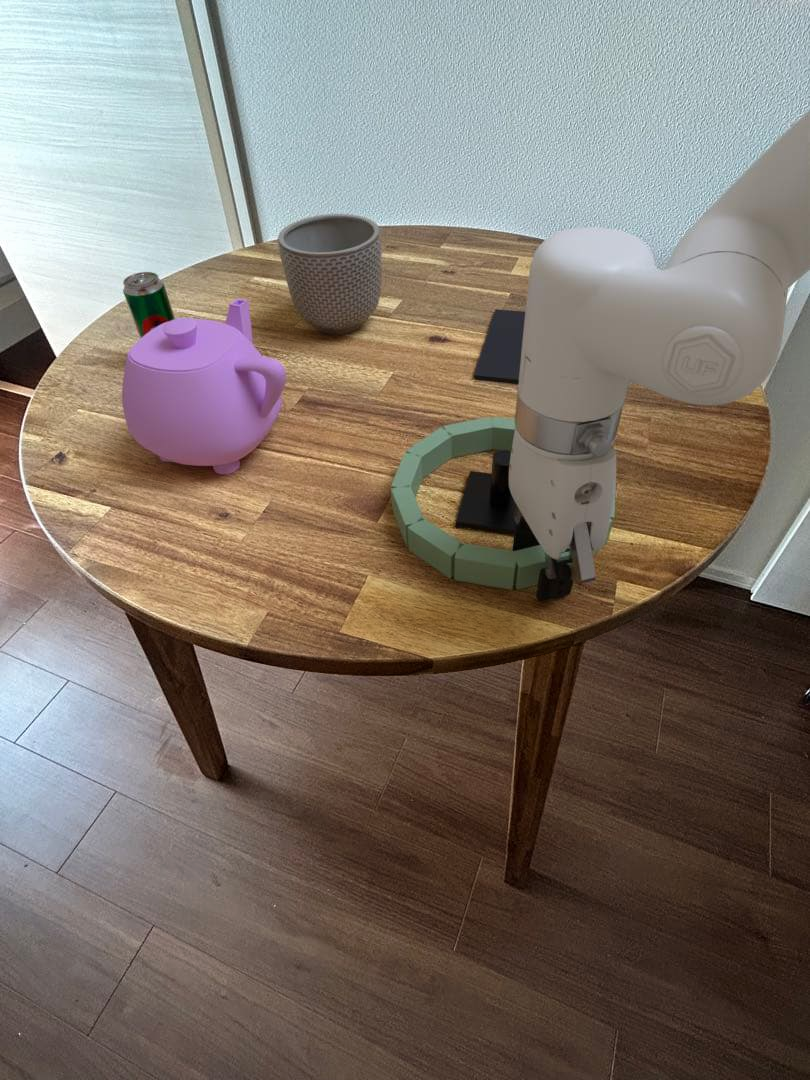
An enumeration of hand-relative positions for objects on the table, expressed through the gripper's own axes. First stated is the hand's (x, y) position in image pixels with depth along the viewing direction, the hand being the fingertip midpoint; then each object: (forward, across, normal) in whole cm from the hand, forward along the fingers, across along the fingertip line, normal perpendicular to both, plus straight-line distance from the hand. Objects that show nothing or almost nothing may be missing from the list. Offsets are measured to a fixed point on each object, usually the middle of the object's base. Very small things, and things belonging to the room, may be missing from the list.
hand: (540, 572), depth 61 cm
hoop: (0, +10, 0) cm, 10 cm away
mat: (0, +37, -18) cm, 41 cm away
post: (0, +10, 0) cm, 10 cm away
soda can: (+1, +51, +33) cm, 61 cm away
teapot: (+1, +32, +26) cm, 41 cm away
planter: (+1, +54, +8) cm, 55 cm away
